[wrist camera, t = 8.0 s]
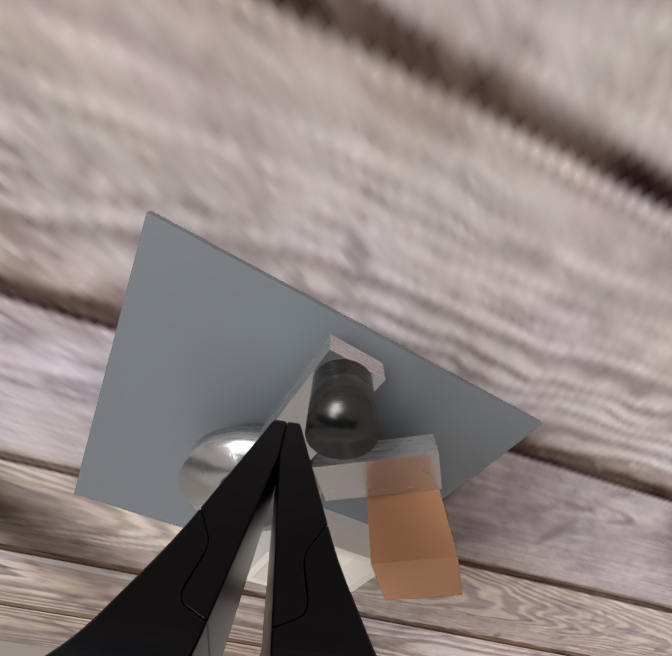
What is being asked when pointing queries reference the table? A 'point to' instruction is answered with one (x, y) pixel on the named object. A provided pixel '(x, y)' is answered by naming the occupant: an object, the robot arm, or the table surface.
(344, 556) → the tray
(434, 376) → the faceplate
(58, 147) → the table surface
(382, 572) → the block
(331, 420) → the crank wheel
